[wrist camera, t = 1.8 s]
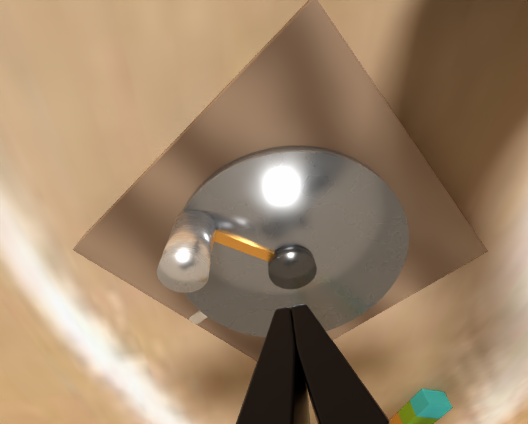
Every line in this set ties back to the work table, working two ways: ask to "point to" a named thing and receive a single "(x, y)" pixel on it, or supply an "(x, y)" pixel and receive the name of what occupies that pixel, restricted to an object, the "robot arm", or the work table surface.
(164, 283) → the capstan dial
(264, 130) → the base plate
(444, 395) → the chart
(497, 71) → the work table surface
